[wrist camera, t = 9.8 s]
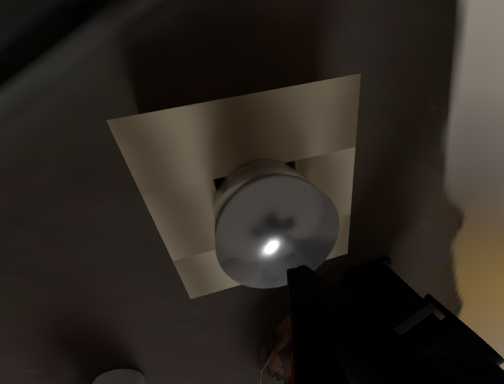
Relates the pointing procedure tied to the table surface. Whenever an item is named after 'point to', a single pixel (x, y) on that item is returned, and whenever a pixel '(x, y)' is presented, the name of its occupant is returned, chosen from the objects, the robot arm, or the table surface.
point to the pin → (271, 223)
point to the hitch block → (237, 161)
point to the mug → (120, 377)
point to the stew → (272, 356)
